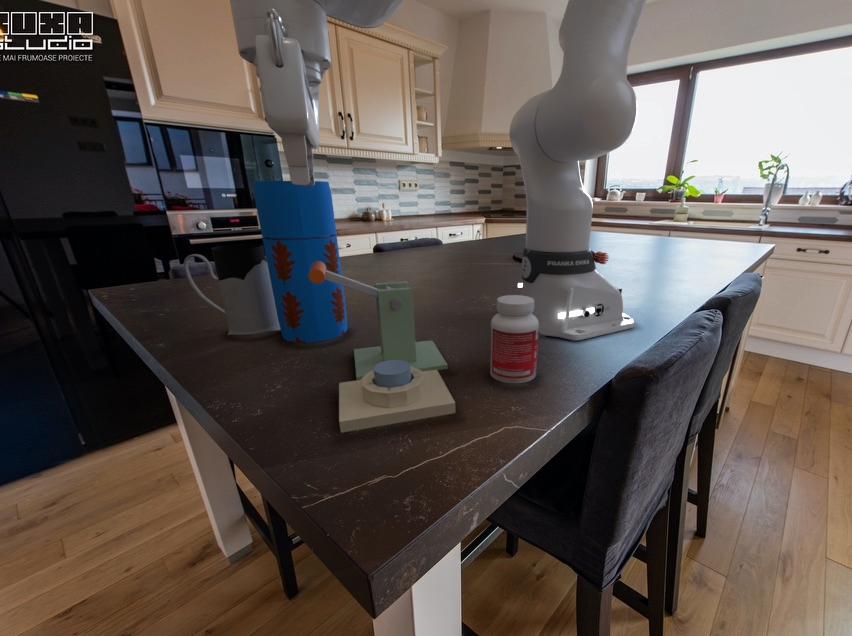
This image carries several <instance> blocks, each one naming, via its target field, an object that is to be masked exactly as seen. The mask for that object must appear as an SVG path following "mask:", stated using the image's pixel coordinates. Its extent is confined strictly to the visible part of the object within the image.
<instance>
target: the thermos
mask: <svg viewBox="0 0 852 636" xmlns="http://www.w3.org/2000/svg"><path fill="white" fill-rule="evenodd" d="M252 184H253V197H254V202H255V208H256V213H257V217H258V222H259V227H260V233H261V238H262V243H263V244H262V245H263V249H264V254H265V259H266V262H267V264H268V269H269V275H270V280H271V285H272V290H273V295H274V301H275V306H276V311H277V316H278V321H279V325H280V329H281V330H280V333H281V337H282V339H283V340H285V341H287V342H291V343H296V344H297V343H300V344H301V343H302V344H303V343H304V344H306V343H307V344H309V343H316V342H317V343H318V342H323V341H328V340H333V339H335V338H337V337H341V336H342V335H344V334H346V333H347V331H348V317H347V316H348V315H347V308H346V298H345V290H344V286H343V285H340V284H337V283H334V282H331V281H328V280H326V279H324V281H323V282H322V283H320V284H315V283H312V282H311V281H310V280H309V277H308V275H309V272H310V269H311V266H312V264H313V263H314V262H316V261H321V262H323V263H324V264H325V265H326V270H327V271H330V272H333V273H336V274H339V275H341V276H343V274H342V273H343V272H342V266H341V257H340V251H339V244H338V243H339V242H338V235H337V227H336V220H335V211H334V205H333V204H334V203H333V196H332V190H331V186H330V182H329V181H322V180H321V181H320V180H315V185H314V186H302V185H295V184H293V183H292V182H291V180H253V181H252Z"/></svg>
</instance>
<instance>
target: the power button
mask: <svg viewBox="0 0 852 636" xmlns="http://www.w3.org/2000/svg"><path fill="white" fill-rule="evenodd" d="M374 377H375V384H376V385H377V386H379V387H387V388H392V387H399V386H403V385H405V384H408V383H410V382H411V368H410V364H409V363H408V362H406V361H403V360H388V361H384V362H381V363H379V364H377V365H376V366H375V367H374Z"/></svg>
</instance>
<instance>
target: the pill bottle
mask: <svg viewBox="0 0 852 636" xmlns="http://www.w3.org/2000/svg"><path fill="white" fill-rule="evenodd" d="M533 310H534V299H533V298H531V297H527V296H521V294H520V295H519V294H508V295H507V294H506V295H502V296H499V297H497V299H496V311H497V313H496V314H494V316H493V317H492V318H491V320H490V350H489V351H490V355H489V356H490V357H489V358H490V359H489V374H490V376H491V377H492V378H493V379H495V380H496V381H498V382H502V383H507V384H522V383H528V382H530V381H532V380H534V379H535V378H536V377H537V366H538V365H537V364H538V350H539V332H538V331H539V322H538V320H537V318H536V317H535V316H534V315H532V312H533Z"/></svg>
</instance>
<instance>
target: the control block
mask: <svg viewBox="0 0 852 636" xmlns="http://www.w3.org/2000/svg"><path fill="white" fill-rule="evenodd" d="M410 368H411V382H410V383H408V384H405V385H403V386H399V387H392V388H387V387H379V386H377V385H376V384H375V377H374V370H373V371H370V372H368V373H367V374H366V375H365V376H364V377H363V378H362V379H361V380H357V379H356V380H350V381H349V380H348V381H343V382H339V383H338V424H339V431H340V433H341V434H342V433H348V432H353V431H359V430H365V429H370V428H377V427H382V426H388V425H394V424H395V425H396V424H400V423H406V422H411V421H418V420H423V419H429V418H435V417H441V416H447V415H452V414H456V401H455V400H454V398H453V396H452V394H451V393H450V391H449V389H448V386H447V385H446V382H445V381H444V379H443V378H442V376H441V374H440V373H439V370H430V371H423V372H422V371H421V370H419V369H417V368H414V367H412V366H410Z"/></svg>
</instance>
